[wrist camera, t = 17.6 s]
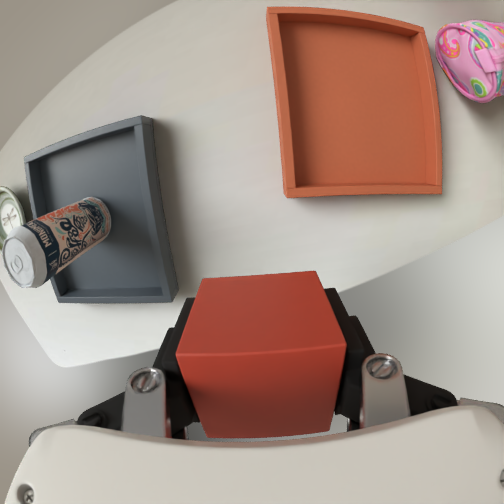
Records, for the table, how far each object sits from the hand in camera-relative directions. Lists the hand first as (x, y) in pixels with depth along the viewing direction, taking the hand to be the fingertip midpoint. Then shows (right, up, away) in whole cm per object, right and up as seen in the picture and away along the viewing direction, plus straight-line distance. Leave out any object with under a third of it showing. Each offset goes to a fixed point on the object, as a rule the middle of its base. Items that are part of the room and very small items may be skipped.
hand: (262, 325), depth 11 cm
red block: (0, 0, 0) cm, 0 cm away
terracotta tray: (+9, +17, +10) cm, 22 cm away
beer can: (-17, +7, +14) cm, 23 cm away
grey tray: (-17, +7, +14) cm, 23 cm away
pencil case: (+28, +27, +6) cm, 40 cm away
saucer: (-32, +7, +15) cm, 36 cm away
